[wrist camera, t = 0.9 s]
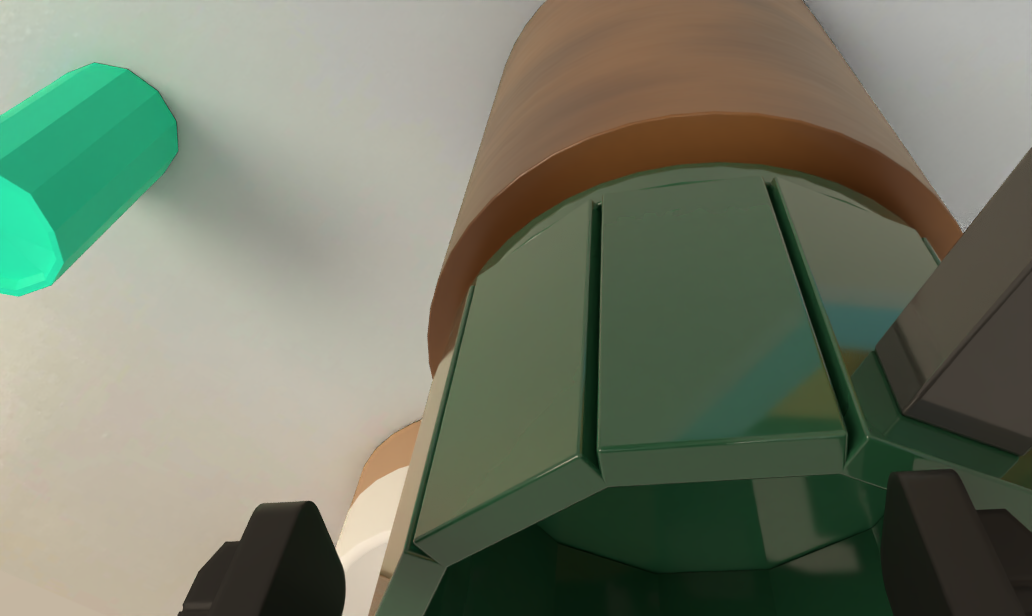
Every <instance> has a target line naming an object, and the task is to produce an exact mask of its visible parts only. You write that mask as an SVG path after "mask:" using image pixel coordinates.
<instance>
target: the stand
mask: <svg viewBox="0 0 1032 616" xmlns="http://www.w3.org/2000/svg"><path fill="white" fill-rule="evenodd" d="M711 162H729V163H748V164H762V165H767V166H773V167H779V168H784V169H790V170H796V171H801V172H804V173H807V174H810V175H814V176H817V177H820V178H823V179H826V180H830V181H833V182H836V183H839V184H841V185H843V186H845V187H847V188H849V189H852V190H854V191H856V192H858V193H860V194H862V195H864V196H867V197H869V198H871V199H873V200H874V201H876V202H877V203H879V204H880V205H882V206H883V207H885V208H886V209H888V210H889V211H891V212H892V213H894V214H896V215H897V216H899V217H900V218H902V219H903V220H904V221H905V222H906V223H907V224H908V225H909V226H910V227H912V228H913V229H915V230H916V231H917V232H918V234H919V235H920V236H922V237H925V238H927V239H928V241H929V242H930V244H931V245H932V247H933V248H934V250H935V251H936V253H937V254H938V256H939V257H940V259H941V260H943V259H944V258H945V256H946V255H947V254H948V253H949V251H950V250H951V249H952V248H953V246H954V245H955V244H956V242H957V241H958V240H959V239H960V237H961V236H962V235H963V233H962V231H961V229H960V227H959V225H958V223H957V222H956V220H955V219H954V217H953V216H952V214H951V213H950V211H949V210H948V209H947V207H946V206H945V204H944V203H943V201H942V200H941V198H940V197H939V196H938V194H937V193H936V191H935V190H934V188H933V187H932V185H931V184H930V183H929V181H928V180H927V178H926V177H925V175H924V174H923V172H922V171H921V170H920V168H919V167H918V165H917V164H916V162H915V161H914V159H913V158H912V157H911V155H910V154H909V152H908V151H907V149H906V148H905V146H904V145H903V144H902V142H901V141H900V139H899V138H898V136H897V135H896V133H895V132H894V131H893V129H892V128H891V126H890V125H889V123H888V122H887V120H886V119H885V118H884V116H883V115H882V113H881V112H880V110H879V109H878V107H877V106H876V105H875V103H874V102H873V100H872V99H871V97H870V96H869V94H868V93H867V92H866V90H865V89H864V87H863V86H862V84H861V83H860V81H859V80H858V79H857V77H856V76H855V74H854V73H853V71H852V70H851V68H850V67H849V66H848V64H847V63H846V61H845V60H844V58H843V57H842V55H841V54H840V53H839V51H838V50H837V48H836V47H835V45H834V44H833V42H832V41H831V39H830V38H829V37H828V35H827V34H826V32H825V31H824V29H823V28H822V26H821V25H820V24H819V22H818V21H817V19H816V18H815V16H814V15H813V14H812V13H811V11H810V10H809V9H808V7H807V6H806V5H805V3H804V2H803V1H802V0H547V1H546V2H545V3H544V4H543V5H542V6H541V7H540V8H539V9H538V10H537V12H536V13H535V14H534V15H533V17H532V18H531V19H530V20H529V22H528V23H527V24H526V26H525V27H524V29H523V31H522V32H521V34H520V36H519V37H518V39H517V41H516V42H515V44H514V46H513V48H512V51H511V53H510V55H509V58H508V60H507V62H506V65H505V68H504V71H503V74H502V77H501V80H500V84H499V87H498V90H497V93H496V96H495V100H494V103H493V106H492V109H491V112H490V116H489V119H488V122H487V125H486V128H485V132H484V135H483V138H482V141H481V144H480V147H479V151H478V154H477V157H476V160H475V163H474V167H473V170H472V173H471V176H470V179H469V183H468V186H467V189H466V192H465V195H464V198H463V202H462V205H461V208H460V211H459V214H458V218H457V221H456V224H455V227H454V230H453V234H452V237H451V240H450V243H449V246H448V249H447V253H446V256H445V259H444V262H443V265H442V269H441V272H440V275H439V278H438V282H437V285H436V289H435V293H434V296H433V300H432V304H431V307H430V316H429V326H428V336H427V337H428V353H429V365H430V369H431V374H432V378H433V379H434V376H435V374H436V371H437V369H438V366H439V364H440V361H441V358H442V356H443V353H444V351H445V348H446V346H447V342H448V339H449V336H450V332H451V329H452V325H453V322H454V319H455V315H456V313H457V311H458V309H459V307H460V305H461V303H462V301H463V298H464V296H465V294H466V292H467V290H468V288H469V287H470V285H471V284H472V283H473V281H474V280H475V278H476V277H477V275H478V274H479V272H480V271H481V270H482V268H483V267H484V265H485V264H486V263H487V262H488V261H489V259H490V258H491V257H492V256H493V255H494V254H495V253H496V252H497V251H498V250H499V249H500V248H501V247H502V246H503V245H504V243H505V242H506V241H507V240H508V239H510V238H511V237H512V236H513V235H515V234H516V233H517V232H518V231H520V230H521V229H522V228H523V227H525V226H526V225H527V224H528V223H529V222H531V221H532V220H533V219H534V218H536V217H538V216H539V215H541V214H543V213H544V212H546V211H548V210H549V209H551V208H552V207H554V206H556V205H557V204H559V203H561V202H562V201H564V200H566V199H568V198H570V197H572V196H574V195H577V194H579V193H581V192H583V191H586V190H588V189H590V188H592V187H594V186H597V185H599V184H601V183H605V182H608V181H611V180H614V179H617V178H621V177H624V176H627V175H630V174H634V173H637V172H641V171H646V170H652V169H657V168H663V167H668V166H673V165H681V164H696V163H711Z"/></svg>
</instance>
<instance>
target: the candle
mask: <svg viewBox="0 0 1032 616" xmlns="http://www.w3.org/2000/svg"><path fill="white" fill-rule="evenodd" d="M177 152H178V139H177V124H176V120H175V118H174V117H173V115H172V113H171V112H170V110H169V109H168V107H167V105H166V104H165V102H164V100H163V99H162V97H161V95H160V94H159V92H158V91H157V90H156V89H154V88H153V87H151V86H150V85H149V84H147V83H146V82H145V81H143V80H142V79H140V78H139V77H138V76H136V75H135V74H133V73H132V72H131V71H129V70H128V69H123V68H118V67H114V66H109V65H104V64H99V63H92V64H89V65H87V66H84V67H82V68H79V69H76V70H74V71H71V72H69V73H67V74H65V75H64V76H62V77H60V78H59V79H57V80H56V81H54V82H53V83H51V84H49V85H48V86H46V87H45V88H43V89H42V90H40V91H38V92H37V93H35V94H34V95H32V96H31V97H29V98H27V99H26V100H24V101H23V102H21V103H20V104H18V105H16V106H15V107H13V108H12V109H10V110H9V111H7V112H5V113H4V114H2V115H1V116H0V293H2V294H7V295H13V296H18V297H19V296H22V295H25V294H28V293H31V292H34V291H37V290H39V289H42V288H45V287H48V286H51V285H52V284H53V283H54V282H55V281H56V280H57V279H58V278H59V277H60V276H61V275H62V274H63V273H64V272H65V271H66V270H67V269H68V268H69V267H70V266H71V265H72V264H73V263H74V262H75V261H76V260H77V259H78V258H79V257H80V256H81V255H82V254H83V253H84V252H85V251H86V250H87V249H88V248H89V247H90V246H91V245H92V244H93V243H94V242H95V241H96V240H97V239H98V238H99V237H100V236H101V235H102V234H103V233H104V232H105V231H106V230H107V229H108V228H109V227H110V226H111V225H112V224H113V223H114V222H115V221H116V220H117V219H118V218H119V217H120V216H121V215H122V214H123V213H124V212H125V211H126V210H127V209H128V208H129V207H130V206H131V205H132V204H133V203H134V202H135V201H136V200H137V199H138V198H139V197H140V196H141V195H142V194H144V193H145V192H146V191H147V190H148V189H149V188H150V187H151V186H152V185H153V184H154V183H155V182H156V181H157V180H158V179H159V178H160V177H161V176H162V175H163V174H164V173H165V171H166V169H167V168H168V166H169V165H170V163H171V162H172V160H173V159H174V157H175V155H176V154H177Z"/></svg>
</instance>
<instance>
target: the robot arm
mask: <svg viewBox="0 0 1032 616" xmlns="http://www.w3.org/2000/svg"><path fill="white" fill-rule="evenodd" d="M880 555H881V568H882V575H883V580H884V585H885V589H886V593H887V597H888V600H889V603H890V606H891V609H892V612H893V615H894V616H1032V532H1031V531H1030V530H1028V529H1027V528H1026V527H1025V526H1024V525H1023V524H1022V523H1021V522H1020V521H1018V520H1017V519H1016V518H1015V517H1014V516H1013V515H1012V514H1011V513H1010V512H1009V511H1007V510H1006V509H985V510H976V509H975V507H974V505H973V503H972V501H971V499H970V497H969V495H968V492H967V490H966V488H965V486H964V484H963V482H962V480H961V478H960V476H959V475H958V473H957V472H956V471H955V470H953V469H937V470H918V471H899V472H891V473H890V475H889V478H888V484H887V493H886V502H885V511H884V520H883V529H882V538H881V549H880ZM345 597H346V581H345V573H344V569H343V566H342V563H341V561H340V559H339V556H338V554H337V552H336V549H335V547H334V545H333V542H332V540H331V538H330V535H329V533H328V531H327V528H326V526H325V524H324V521H323V519H322V517H321V514H320V512H319V510H318V508H317V506H316V505H315V503H313V502H312V501H299V502H280V503H263V504H260V505H259V506H258V507H257V508H256V509H255V510H254V512H253V514H252V516H251V518H250V520H249V522H248V525H247V527H246V529H245V531H244V533H243V536H242V538H241V540H240V541H235V542H225V543H224V544H223V545H222V547H221V548H220V549H219V550H218V551H217V552H216V553H215V554H214V555H213V556H212V558H211V559H210V560H209V561H208V562H207V563H206V564H205V565H204V566H203V567H202V569H201V570H200V571H199V572H198V574H197V576H196V578H195V580H194V582H193V584H192V586H191V589H190V591H189V593H188V595H187V597H186V599H185V601H184V603H183V611H182V612H179V613H178V616H342V613H343V609H344V604H345Z"/></svg>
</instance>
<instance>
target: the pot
mask: <svg viewBox="0 0 1032 616" xmlns="http://www.w3.org/2000/svg"><path fill="white" fill-rule="evenodd" d="M937 469H953V470H955V471H956V472H957V473H958V475H959V476H960V478H961V480H962V482H963V484H964V486H965V488H966V490H967V492H968V495H969V497H970V499H971V501H972V503H973V505H974V507H975V509H976V510H985V509H1006V510H1007V511H1009V512H1010V513H1011V514H1012V515H1013V516H1014V517H1015V518H1016V519H1017V520H1018V521H1020V522H1021V523H1022V524H1023V525H1024V526H1025V527H1026V528H1027V529H1028V530H1030V531H1031V532H1032V147H1031V148H1030V150H1029V151H1028V152H1027V153H1026V155H1025V156H1024V157H1023V159H1022V160H1021V161H1020V162H1019V164H1018V165H1017V166H1016V167H1015V169H1014V170H1013V171H1012V173H1011V174H1010V175H1009V176H1008V178H1007V179H1006V180H1005V181H1004V183H1003V184H1002V185H1001V187H1000V188H999V189H998V190H997V192H996V193H995V194H994V195H993V197H992V198H991V199H990V201H989V202H988V203H987V204H986V206H985V207H984V208H983V209H982V211H981V212H980V213H979V214H978V216H977V217H976V218H975V220H974V221H973V222H972V223H971V225H970V226H969V227H968V228H967V230H966V231H965V232H964V234H963V235H962V236H961V237H960V239H959V240H958V241H957V242H956V244H955V245H954V246H953V248H952V249H951V250H950V251H949V253H948V254H947V255H946V256H945V258H944V259H943V260H941V259H940V257H939V256H938V254H937V253H936V251H935V250H934V248H933V247H932V245H931V244H930V242H929V241H928V239H927V238H925V237H922V236H920V235H919V234H918V232H917V231H916V230H915V229H913V228H912V227H910V226H909V225H908V224H907V223H906V222H905V221H904V220H903V219H902V218H900V217H899V216H897V215H896V214H894V213H892V212H891V211H889V210H888V209H886V208H885V207H883V206H882V205H880V204H879V203H877V202H876V201H874V200H873V199H871V198H869V197H867V196H864V195H862V194H860V193H858V192H856V191H854V190H852V189H849V188H847V187H845V186H843V185H841V184H839V183H836V182H833V181H830V180H826V179H823V178H820V177H817V176H814V175H810V174H807V173H804V172H801V171H796V170H790V169H784V168H779V167H773V166H767V165H762V164H748V163H729V162H711V163H696V164H681V165H673V166H668V167H663V168H657V169H652V170H646V171H641V172H637V173H634V174H630V175H627V176H624V177H621V178H617V179H614V180H611V181H608V182H605V183H601V184H599V185H597V186H594V187H592V188H590V189H588V190H586V191H583V192H581V193H579V194H577V195H574V196H572V197H570V198H568V199H566V200H564V201H562V202H561V203H559V204H557V205H556V206H554V207H552V208H551V209H549V210H548V211H546V212H544V213H543V214H541V215H539V216H538V217H536V218H534V219H533V220H532V221H531V222H529V223H528V224H527V225H526V226H525V227H523V228H522V229H521V230H520V231H518V232H517V233H516V234H515V235H513V236H512V237H511V238H510V239H508V240H507V241H506V242H505V243H504V245H503V246H502V247H501V248H500V249H499V250H498V251H497V252H496V253H495V254H494V255H493V256H492V257H491V258H490V259H489V261H488V262H487V263H486V264H485V265H484V267H483V268H482V270H481V271H480V272H479V274H478V275H477V277H476V278H475V280H474V281H473V283H472V284H471V285H470V287H469V288H468V290H467V292H466V294H465V296H464V298H463V301H462V303H461V305H460V307H459V309H458V311H457V313H456V315H455V319H454V322H453V325H452V329H451V332H450V336H449V339H448V342H447V346H446V348H445V351H444V353H443V356H442V358H441V361H440V364H439V366H438V369H437V371H436V374H435V376H434V379H433V381H432V384H431V388H430V391H429V395H428V399H427V402H426V406H425V410H424V413H423V417H422V421H421V424H420V428H419V431H418V435H417V439H416V442H415V446H414V450H413V453H412V457H411V461H410V464H409V468H408V472H407V475H406V479H405V483H404V486H403V490H402V494H401V497H400V501H399V504H398V508H397V512H396V515H395V519H394V523H393V526H392V530H391V534H390V537H389V541H388V545H387V548H386V552H385V556H384V559H383V563H382V567H381V570H380V574H379V578H378V581H377V585H376V588H375V592H374V596H373V599H372V603H371V607H370V610H369V614H368V616H894V615H893V612H892V609H891V606H890V603H889V600H888V597H887V593H886V589H885V585H884V580H883V575H882V568H881V555H880V549H881V538H882V529H883V520H884V511H885V502H886V493H887V484H888V478H889V475H890V473H891V472H899V471H918V470H937Z"/></svg>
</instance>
